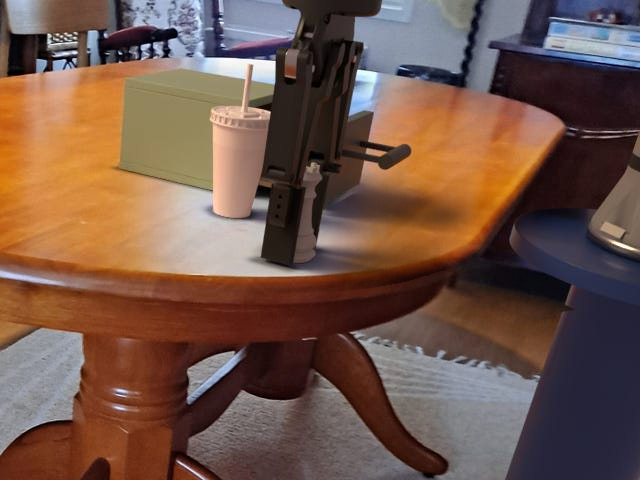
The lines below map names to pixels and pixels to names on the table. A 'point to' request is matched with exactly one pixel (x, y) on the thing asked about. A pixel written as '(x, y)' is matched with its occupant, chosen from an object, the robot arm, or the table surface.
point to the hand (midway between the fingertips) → (289, 251)
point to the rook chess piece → (307, 216)
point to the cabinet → (178, 122)
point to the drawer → (356, 155)
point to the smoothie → (238, 154)
